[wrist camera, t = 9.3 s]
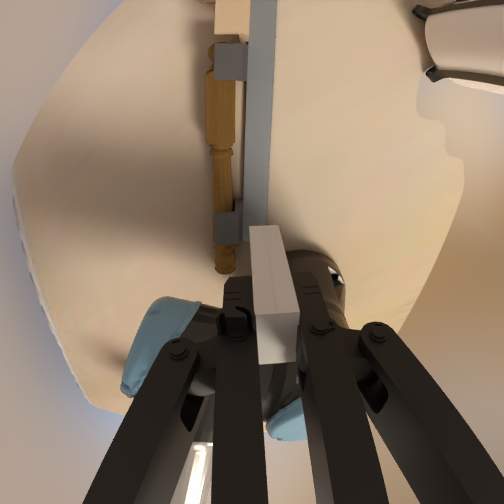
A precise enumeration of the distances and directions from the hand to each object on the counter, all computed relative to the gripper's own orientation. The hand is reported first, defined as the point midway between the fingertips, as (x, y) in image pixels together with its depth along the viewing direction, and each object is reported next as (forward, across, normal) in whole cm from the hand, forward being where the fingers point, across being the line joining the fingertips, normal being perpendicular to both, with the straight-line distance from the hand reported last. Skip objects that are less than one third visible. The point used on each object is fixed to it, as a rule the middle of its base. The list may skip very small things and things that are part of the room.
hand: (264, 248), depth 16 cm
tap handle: (+22, +4, 0) cm, 23 cm away
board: (+22, +2, -5) cm, 22 cm away
